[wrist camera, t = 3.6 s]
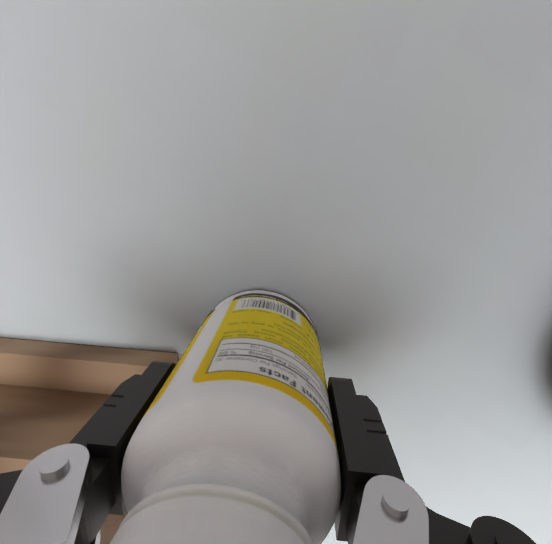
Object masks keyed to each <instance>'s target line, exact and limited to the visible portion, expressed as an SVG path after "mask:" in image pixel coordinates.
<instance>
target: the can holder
mask: <svg viewBox="0 0 552 544" xmlns="http://www.w3.org/2000/svg"><path fill="white" fill-rule="evenodd" d="M153 361H160V362H172V363H175V364H176V365H177V363H178V353H168V352H157V351H146V350H135V349H123V348H112V347H101V346H90V345H79V344H67V343H56V342H45V341H34V340H23V339H11V338H0V474H1V473H6V472H12V471H17V470H22V469H24V468H25V467H26V466H27V465H28V464H29V463H30V462H31V461H32V460H33V459H34V458H36V457H37V456H38V455H40V454H41V453H43V452H45V451H47V450H49V449H51V448H53V447H56V446H59V445H63V444H69V442H70V441H71V440H72V439H73V438H74V437H75V436H76V434H77V433H78V432H79V431H80V430H81V429H82V428H83V426H84V425H85V424H86V423H87V422H88V421H89V419H90V418H91V417H92V416H93V415H94V414H95V413H96V411H97V410H98V409H99V408H100V407H102V406H103V403H104V402H105V401H106V400H107V399H108V398H109V397H111V394H112V393H113V392H114V391H115V390H116V388H117V387H118V386H119V385H120V384H121V383H122V382H124V381H125V380H127V379H129V378H130V377H132V376H133V375H135V374H138V375H142V373H143V372H144V371H145V370H146V369H147V367H148V366H149V365H150V364H151V362H153ZM127 514H128V511H127V509H126V511H125V513H124V515H114V514H108V516H107V518H106V519H105V521H104V523H103V525H102V527H101V528H100V531H101V539H100V544H110V542H111V541H112V539H113V537H114V535H115V534H116V532H117V531H118V529H119V526H120V524H121V522H122V521H123V519H124V518H125V516H126V515H127Z"/></svg>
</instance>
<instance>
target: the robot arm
mask: <svg viewBox="0 0 552 544" xmlns="http://www.w3.org/2000/svg"><path fill="white" fill-rule="evenodd" d="M175 366H176V364H175V363H172V362H160V361H153V362H151V364H150V365H149V366H148V367H147V369H146V370H145V371H144V372H143V373H142V375H138V374H135V375H133V376H132V377H130V378H129V379H127V380H125V381H124V382H122V383H121V384H120V385H119V386H118V387H117V388H116V390H115V391H114V392H113V393H112V394H111V397H109V398H108V399H107V400H106V401H105V402H104V403H103V406H102V407H100V408H99V409H98V410H97V411H96V413H95V414H94V415H93V416H92V417H91V418H90V419H89V421H88V422H87V423H86V424H85V425H84V426H83V428H82V429H81V430H80V431H79V432H78V433H77V434H76V436H75V437H74V438H73V439H72V440H71V441H70V442H69V444H63V445H59V446H56V447H53V448H51V449H49V450H47V451H45V452H43V453H41V454H40V455H38V456H37V457H36V458H34V459H33V460H32V461H31V462H30V463H29V464H28V465H27V466H26V467H25V468H24V469H22V470H17V471H12V472H6V473H1V474H0V544H100V539H101V531H100V528H101V527H102V525H103V523H104V521H105V519H106V518H107V516H108V514H114V515H124V513H125V511H126V506H125V503H124V499H123V495H122V488H121V470H122V464H123V458H124V455H125V452H126V449H127V446H128V444H129V442H130V440H131V437H132V435H133V434H134V432H135V430H136V428H137V426H138V425H139V423H140V421H141V419H142V418H143V416H144V415H145V413H146V411H147V410H148V408H149V407H150V405H151V404H152V402H153V400H154V399H155V397H156V396H157V394H158V393H159V391H160V390H161V388H162V386H163V385H164V383H165V382H166V380H167V379H168V377H169V376H170V374H171V372H172V371H173V369H174V368H175ZM327 391H328V397H329V403H330V409H331V415H332V421H333V427H334V432H335V438H336V443H337V449H338V456H339V464H340V473H341V498H340V504H339V509H338V513H337V516H336V519H335V530H336V539H337V540H340V541H348V544H536V543H535V542H534V541H533V540H532V539H531V538H530V537H529V536H527V535H526V534H525V533H524V532H522V531H521V530H520V529H518V528H517V527H515V526H514V525H512V524H510V523H509V522H507V521H504V520H502V519H499V518H496V517H492V516H482V517H478V518H477V519H475V520H474V522H473V523H472V526H471V528H470V527H468V526H465V525H463V524H461V523H458V522H456V521H453V520H451V519H449V518H446V517H444V516H442V515H439V514H437V513H435V512H434V511H432V510H430V509H429V508H428V507H426V506H425V504H424V502H423V500H422V498H421V497H420V496H419V494H418V493H417V492H416V491H415V490H414V489H413V488H412V487H411V486H409V485H408V484H407V483H405V481H404V478H403V475H402V473H401V470H400V467H399V465H398V462H397V459H396V457H395V454H394V451H393V449H392V446H391V443H390V441H389V438H388V435H386V430H385V427H384V424H383V423H382V419H381V416H380V414H379V411H378V408H377V407H376V406H375V404H374V403H373V402H372V401H371V400H370V399H369V398H368V397H367V396H362V395H356V392H355V389H354V386H353V382H352V380H351V379H345V378H334V377H330V378H329V381H328V387H327Z"/></svg>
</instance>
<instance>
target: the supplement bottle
mask: <svg viewBox="0 0 552 544" xmlns="http://www.w3.org/2000/svg"><path fill="white" fill-rule="evenodd" d="M121 488H122V495H123V499H124V503H125V506H126V509H127V511H128V514H127V515H126V516H125V518H124V519H123V521H122V522H121V524H120V526H119V529H118V531H117V532H116V534H115V535H114V537H113V539H112V541H111V542H110V544H321V543H322V542H323V540H324V539H325V538H326V536H327V535H328V533H329V531H330V530H331V528H332V526H333V524H334V522H335V519H336V516H337V513H338V509H339V504H340V498H341V473H340V464H339V456H338V449H337V443H336V438H335V432H334V427H333V421H332V415H331V409H330V403H329V397H328V391H327V386H326V380H325V374H324V368H323V362H322V356H321V351H320V345H319V341H318V337H317V333H316V330H315V327H314V325H313V323H312V321H311V320H310V318H309V317H308V315H307V314H306V313H305V311H304V310H303V309H302V308H301V307H300V306H299V305H297V304H296V303H295V302H293V301H292V300H290V299H289V298H287V297H285V296H283V295H280V294H277V293H274V292H269V291H262V290H253V291H245V292H241V293H238V294H235V295H232V296H230V297H228V298H226V299H225V300H223V301H222V302H221V303H219V304H218V305H217V306H216V307H215V308H214V309H213V310H212V311H211V313H210V314H209V315H208V316H207V318H206V319H205V321H204V322H203V324H202V325H201V327H200V328H199V330H198V331H197V333H196V335H195V336H194V338H193V339H192V341H191V343H190V344H189V346H188V347H187V349H186V350H185V352H184V353H183V355H182V357H181V358H180V360H179V361H178V363H177V365H176V366H175V368H174V369H173V371H172V372H171V374H170V376H169V377H168V379H167V380H166V382H165V383H164V385H163V386H162V388H161V390H160V391H159V393H158V394H157V396H156V397H155V399H154V400H153V402H152V404H151V405H150V407H149V408H148V410H147V411H146V413H145V415H144V416H143V418H142V419H141V421H140V423H139V425H138V426H137V428H136V430H135V432H134V434H133V435H132V437H131V440H130V442H129V444H128V446H127V449H126V452H125V455H124V458H123V464H122V470H121Z"/></svg>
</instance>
